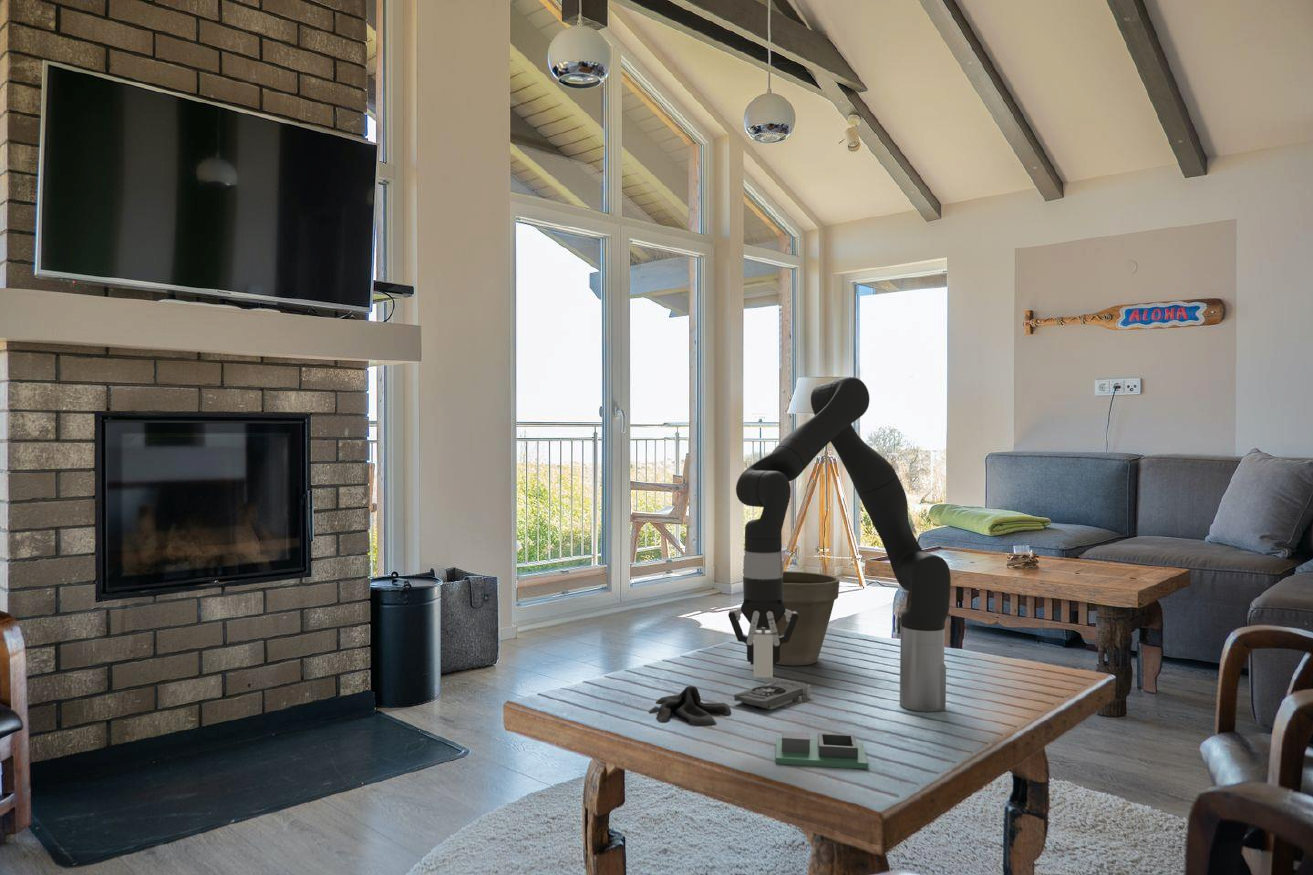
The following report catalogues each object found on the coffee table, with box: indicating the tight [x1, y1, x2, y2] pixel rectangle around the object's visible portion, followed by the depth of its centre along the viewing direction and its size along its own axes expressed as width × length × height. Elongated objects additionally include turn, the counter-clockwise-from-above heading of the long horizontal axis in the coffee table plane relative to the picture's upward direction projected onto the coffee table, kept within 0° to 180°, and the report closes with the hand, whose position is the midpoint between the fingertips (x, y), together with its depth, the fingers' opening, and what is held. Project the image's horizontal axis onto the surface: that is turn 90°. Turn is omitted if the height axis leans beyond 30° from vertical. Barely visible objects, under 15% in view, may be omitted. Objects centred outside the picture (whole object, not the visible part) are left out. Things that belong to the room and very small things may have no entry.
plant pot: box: [742, 570, 840, 667], centre depth 247 cm, size 25×25×22 cm
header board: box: [775, 730, 869, 770], centre depth 174 cm, size 16×11×4 cm
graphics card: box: [733, 676, 811, 710], centre depth 209 cm, size 17×4×12 cm
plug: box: [753, 627, 774, 678], centre depth 183 cm, size 4×4×9 cm
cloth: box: [648, 685, 732, 726], centre depth 199 cm, size 22×19×6 cm
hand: (763, 663), depth 183 cm, fingers closed on plug, 3 cm apart
